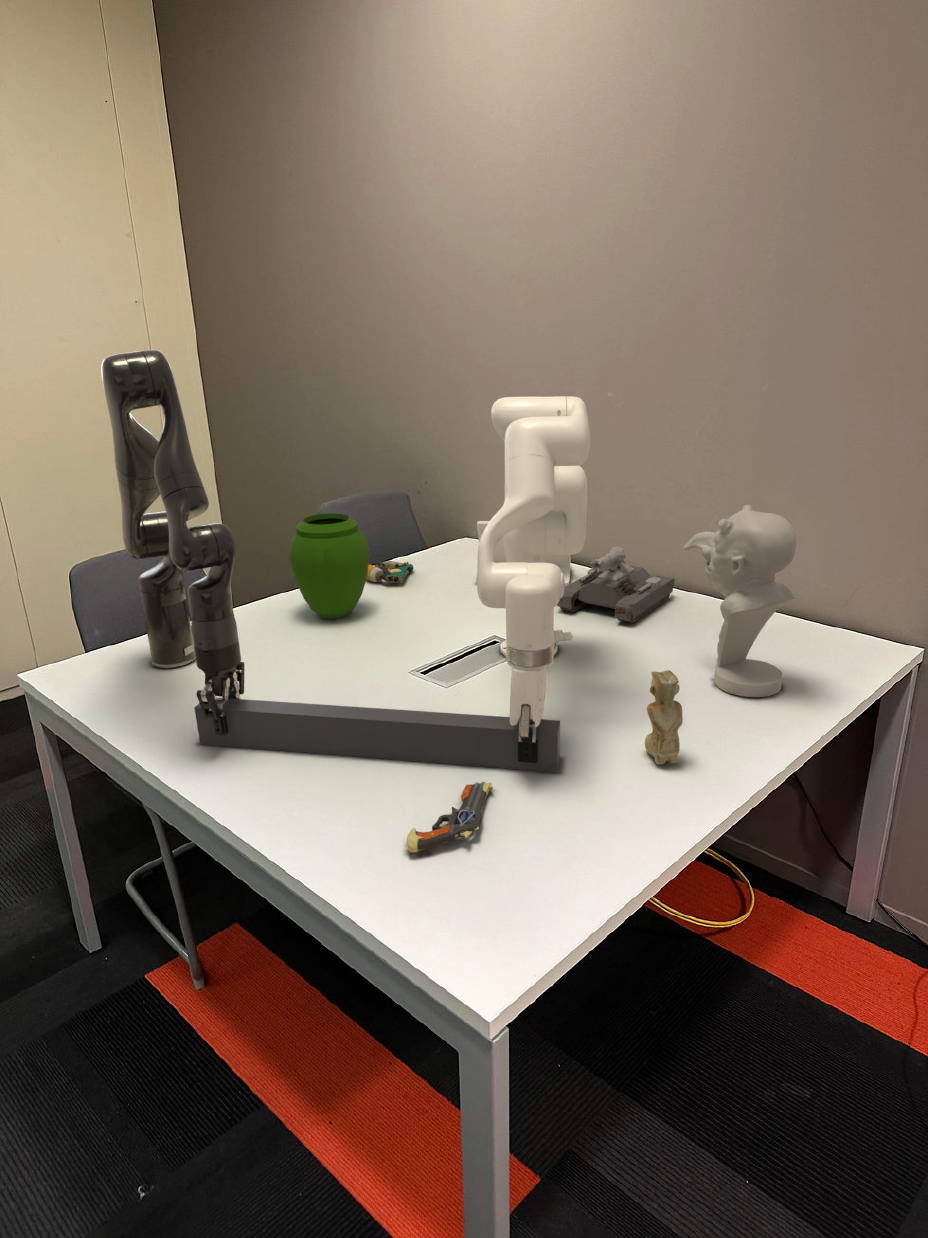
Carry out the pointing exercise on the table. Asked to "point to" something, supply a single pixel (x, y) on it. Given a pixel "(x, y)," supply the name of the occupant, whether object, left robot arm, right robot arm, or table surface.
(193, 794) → the table surface
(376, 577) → the spray gun
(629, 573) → the toy
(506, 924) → the table surface
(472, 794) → the toy gun
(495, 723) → the beam
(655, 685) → the sculpture
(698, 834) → the table surface
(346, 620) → the table surface
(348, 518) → the vase
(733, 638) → the bust sculpture
